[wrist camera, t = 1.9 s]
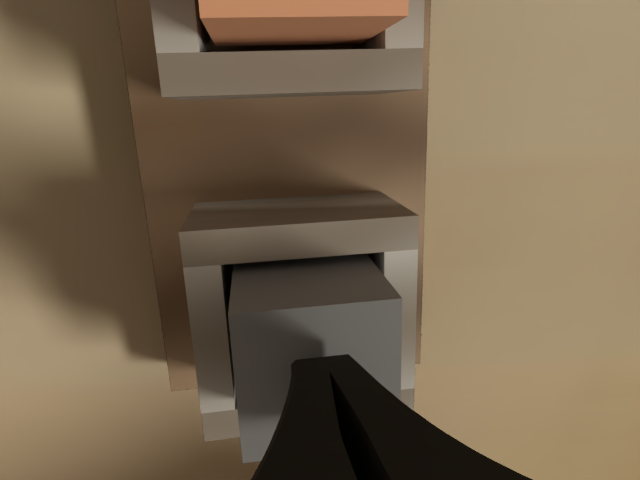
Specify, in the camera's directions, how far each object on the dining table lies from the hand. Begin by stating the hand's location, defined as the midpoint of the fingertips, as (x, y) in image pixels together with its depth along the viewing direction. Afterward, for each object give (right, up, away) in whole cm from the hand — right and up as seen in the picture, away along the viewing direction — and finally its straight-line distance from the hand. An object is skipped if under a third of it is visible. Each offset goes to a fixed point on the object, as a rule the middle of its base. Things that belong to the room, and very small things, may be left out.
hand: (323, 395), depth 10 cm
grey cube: (-1, +1, +4) cm, 4 cm away
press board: (-1, +7, +7) cm, 10 cm away
